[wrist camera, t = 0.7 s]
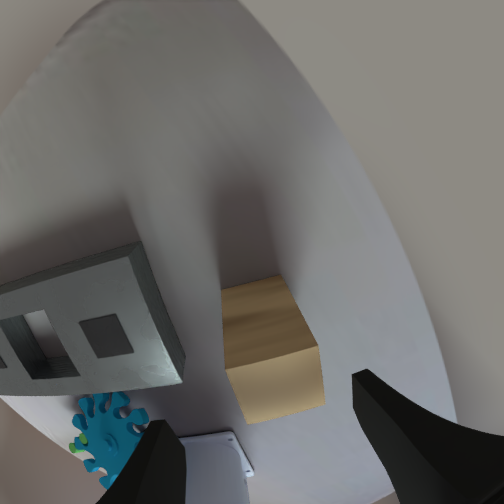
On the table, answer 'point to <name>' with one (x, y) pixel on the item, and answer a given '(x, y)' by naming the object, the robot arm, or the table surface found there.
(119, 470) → the gear
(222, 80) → the table surface
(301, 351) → the peg
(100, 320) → the grey holed base
